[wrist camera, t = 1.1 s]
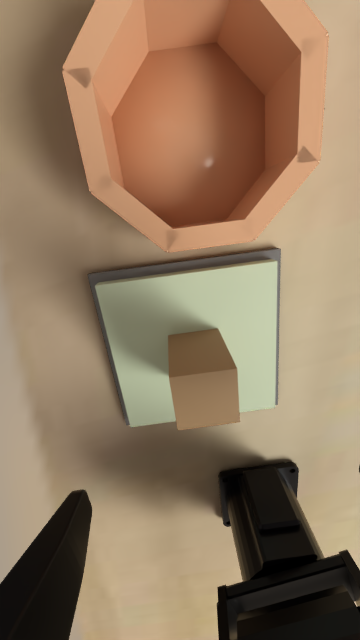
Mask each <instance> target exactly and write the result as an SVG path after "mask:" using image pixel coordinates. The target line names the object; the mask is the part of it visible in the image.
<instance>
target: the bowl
mask: <svg viewBox="0 0 360 640" xmlns="http://www.w3.org/2000/svg"><path fill="white" fill-rule="evenodd" d="M327 33H328V32H327V30H326V29H325V28H324V26H323V25H322V24H321V22H320V21H319V20H318V18H317V17H316V16H315V14H314V13H313V12H312V10H311V9H310V8H309V6H308V5H307V4H306V2H305V1H304V0H95V2H94V4H93V6H92V8H91V10H90V12H89V14H88V16H87V18H86V20H85V22H84V24H83V26H82V28H81V30H80V32H79V35H78V37H77V39H76V41H75V43H74V45H73V47H72V49H71V51H70V53H69V55H68V57H67V59H66V61H65V63H64V65H63V67H62V68H63V71H62V73H63V78H64V82H65V86H66V91H67V95H68V99H69V104H70V108H71V113H72V117H73V121H74V126H75V130H76V134H77V139H78V143H79V148H80V152H81V156H82V161H83V165H84V169H85V174H86V178H87V183H88V187H89V191H90V192H91V194H92V195H94V196H95V197H96V198H97V199H99V200H100V201H101V202H103V203H104V204H105V205H106V206H108V207H109V208H110V209H111V210H113V211H114V212H115V213H117V214H118V215H119V216H120V217H122V218H123V219H124V220H126V221H127V222H128V223H129V224H131V225H132V226H133V227H135V228H136V229H137V230H138V231H140V232H141V233H142V234H144V235H145V236H146V237H147V238H149V239H150V240H151V241H153V242H154V243H155V244H156V245H158V246H159V247H160V248H161V249H163V250H164V251H165V252H167V251H168V253H169V252H177V251H184V250H192V249H199V248H207V247H214V246H222V245H229V244H236V243H244V242H251V241H253V240H256V238H257V237H258V236H259V235H260V234H261V232H262V231H263V230H264V229H265V228H266V226H267V225H268V224H269V223H270V222H271V220H272V219H273V218H274V217H275V216H276V214H277V213H278V212H279V211H280V210H281V208H282V207H283V206H284V205H285V204H286V202H287V201H288V200H289V199H290V198H291V196H292V195H293V194H294V193H295V192H296V190H297V189H298V188H299V187H300V186H301V184H302V183H303V182H304V181H305V180H306V178H307V177H308V176H309V175H310V174H311V172H312V171H313V170H314V169H315V168H316V166H317V165H318V164H319V162H318V161H320V159H321V144H322V129H323V114H324V99H325V84H326V69H327V55H328V40H329V35H328V36H326V35H327Z"/></svg>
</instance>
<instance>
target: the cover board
mask: <svg viewBox="0 0 360 640" xmlns="http://www.w3.org/2000/svg"><path fill="white" fill-rule="evenodd" d="M95 288H96V292H97V296H98V300H99V304H100V308H101V312H102V316H103V320H104V324H105V328H106V332H107V336H108V340H109V344H110V348H111V352H112V356H113V360H114V364H115V368H116V372H117V375H118V379H119V383H120V387H121V391H122V395H123V399H124V403H125V407H126V411H127V415H128V419H129V423H130V427H138V426H145V425H152V424H160V423H167V422H174V421H176V424H177V430H185V429H193V428H200V427H207V426H215V425H222V424H229V423H237V422H240V412H248V411H255V410H262V409H270V408H275V388H276V324H277V261H276V260H273V259H268V260H261V261H254V262H246V263H239V264H231V265H224V266H216V267H209V268H202V269H194V270H187V271H179V272H172V273H164V274H157V275H150V276H142V277H135V278H127V279H120V280H112V281H105V282H98V283H97V284H96V285H95Z"/></svg>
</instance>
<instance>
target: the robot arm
mask: <svg viewBox="0 0 360 640" xmlns="http://www.w3.org/2000/svg"><path fill="white" fill-rule="evenodd" d="M298 472H299V470H298V467H297V465H296V464H295V463H294V462H288V463H281V464H274V465H266V466H259V467H252V468H244V469H237V470H230V471H223V472H221V473H220V474H219V475H218V478H219V488H220V499H221V509H222V519H223V524H224V525H225V526H227V527H229V526H231V528H232V533H233V537H234V542H235V547H236V551H237V556H238V561H239V566H240V570H241V575H242V580H243V582H240V583H237V584H233V585H230V586H226V585H223V586H219V587H218V603H217V615H218V633H219V640H360V570H359V568H358V567H357V565H356V563H355V562H354V560H353V558H352V557H351V555H350V553H349V552H348V550H344V551H341V552H339V554H337V555H334V556H331V557H327V558H324V556H323V553H322V551H321V549H320V547H319V545H318V543H317V541H316V539H315V536H314V534H313V532H312V530H311V528H310V526H309V524H308V522H307V519H306V517H305V515H304V513H303V511H302V509H301V507H300V504H299V502H298V500H297V487H298ZM359 472H360V466H359ZM91 517H92V506H91V503H90V500H89V497H88V495H87V492H86V491H85V490H76V491H72V492H71V493H70V494H69V495H68V497H67V498H66V499H65V501H64V502H63V503H62V504H61V506H60V507H59V508H58V510H57V511H56V512H55V514H54V515H53V516H52V517H51V519H50V520H49V521H48V523H47V524H46V525H45V527H44V528H43V529H42V531H41V532H40V533H39V534H38V536H37V537H36V538H35V539H34V541H33V542H32V543H31V545H30V546H29V547H28V549H27V550H26V551H25V553H24V554H23V555H22V556H21V558H20V559H19V560H18V562H17V563H16V564H15V565H14V567H13V568H12V569H11V571H10V572H9V573H8V575H7V576H6V577H5V579H4V580H3V581H2V582H1V584H0V640H69V636H70V632H71V627H72V623H73V619H74V614H75V610H76V605H77V601H78V597H79V592H80V588H81V583H82V578H83V573H84V567H85V560H86V553H87V546H88V538H89V531H90V524H91ZM354 601H356V604H357V607H356V605H355V603H354Z"/></svg>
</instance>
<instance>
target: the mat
mask: <svg viewBox="0 0 360 640" xmlns="http://www.w3.org/2000/svg"><path fill="white" fill-rule="evenodd" d="M280 258H281V249H279V248H275V249H268V250H261V251H253V252H246V253H238V254H231V255H223V256H216V257H209V258H201V259H194V260H186V261H179V262H171V263H164V264H157V265H149V266H142V267H134V268H127V269H119V270H112V271H104V272H97V273H90V274H88V279H89V283H90V287H91V290H92V294H93V298H94V302H95V306H96V310H97V314H98V317H99V321H100V325H101V329H102V333H103V337H104V341H105V344H106V348H107V352H108V356H109V360H110V364H111V368H112V371H113V375H114V379H115V383H116V387H117V391H118V395H119V398H120V402H121V406H122V410H123V414H124V418H125V422H126V425H130V423H129V419H128V415H127V411H126V407H125V403H124V399H123V395H122V391H121V387H120V383H119V379H118V375H117V372H116V368H115V364H114V360H113V356H112V352H111V348H110V344H109V340H108V336H107V332H106V328H105V324H104V320H103V316H102V312H101V308H100V304H99V300H98V296H97V292H96V288H95V285H96V284H97V283H98V282H105V281H112V280H120V279H127V278H135V277H142V276H150V275H157V274H164V273H172V272H179V271H187V270H194V269H202V268H209V267H216V266H224V265H231V264H239V263H246V262H254V261H261V260H268V259H273V260H276V261H277V324H276V388H275V405H278V359H279V308H280Z"/></svg>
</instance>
